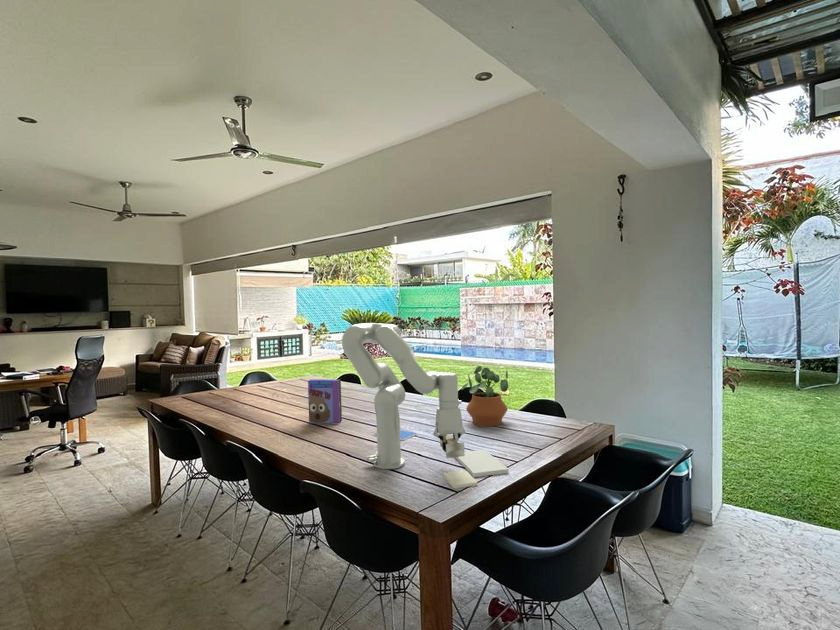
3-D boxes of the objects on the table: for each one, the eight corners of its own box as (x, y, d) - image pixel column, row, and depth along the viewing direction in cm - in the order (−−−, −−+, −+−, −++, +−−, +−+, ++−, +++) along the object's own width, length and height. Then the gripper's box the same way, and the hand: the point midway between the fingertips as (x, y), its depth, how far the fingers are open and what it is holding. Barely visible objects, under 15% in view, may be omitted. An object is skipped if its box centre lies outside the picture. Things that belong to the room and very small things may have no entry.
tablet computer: (372, 435, 224) (372, 433, 224) (388, 429, 234) (388, 427, 234) (403, 442, 213) (403, 439, 213) (418, 435, 223) (418, 432, 223)
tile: (443, 478, 169) (453, 491, 157) (443, 472, 169) (453, 485, 157) (465, 476, 171) (477, 488, 159) (465, 470, 171) (477, 482, 159)
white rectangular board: (473, 477, 167) (473, 473, 167) (453, 456, 190) (453, 452, 190) (508, 472, 170) (508, 469, 170) (484, 452, 193) (484, 449, 193)
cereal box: (309, 423, 249) (307, 380, 249) (312, 421, 254) (310, 379, 253) (339, 423, 247) (338, 380, 247) (341, 421, 252) (340, 379, 251)
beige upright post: (447, 458, 168) (446, 445, 167) (435, 446, 182) (435, 434, 182) (464, 456, 169) (464, 443, 169) (451, 444, 184) (451, 432, 184)
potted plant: (516, 421, 244) (515, 366, 243) (489, 433, 222) (487, 373, 221) (480, 415, 258) (479, 363, 258) (452, 426, 237) (450, 369, 236)
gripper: (464, 400, 181) (466, 445, 181) (426, 404, 176) (427, 450, 177) (471, 404, 173) (472, 451, 174) (431, 408, 169) (432, 456, 170)
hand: (449, 450), depth 175 cm, fingers closed on beige upright post, 3 cm apart
